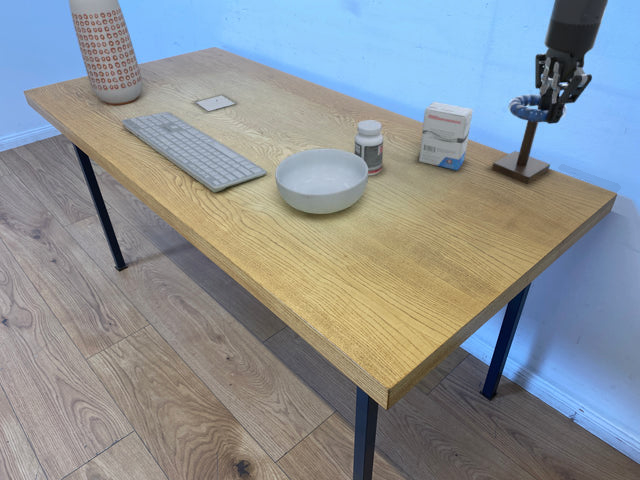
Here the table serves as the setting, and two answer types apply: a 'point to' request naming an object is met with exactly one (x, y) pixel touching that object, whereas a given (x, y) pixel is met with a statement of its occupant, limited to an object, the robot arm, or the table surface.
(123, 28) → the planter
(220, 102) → the coaster
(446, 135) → the ink box
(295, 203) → the cereal bowl
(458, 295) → the table surface
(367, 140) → the pill bottle
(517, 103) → the blue teething ring
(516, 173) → the stand
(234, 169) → the keyboard
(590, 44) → the robot arm
